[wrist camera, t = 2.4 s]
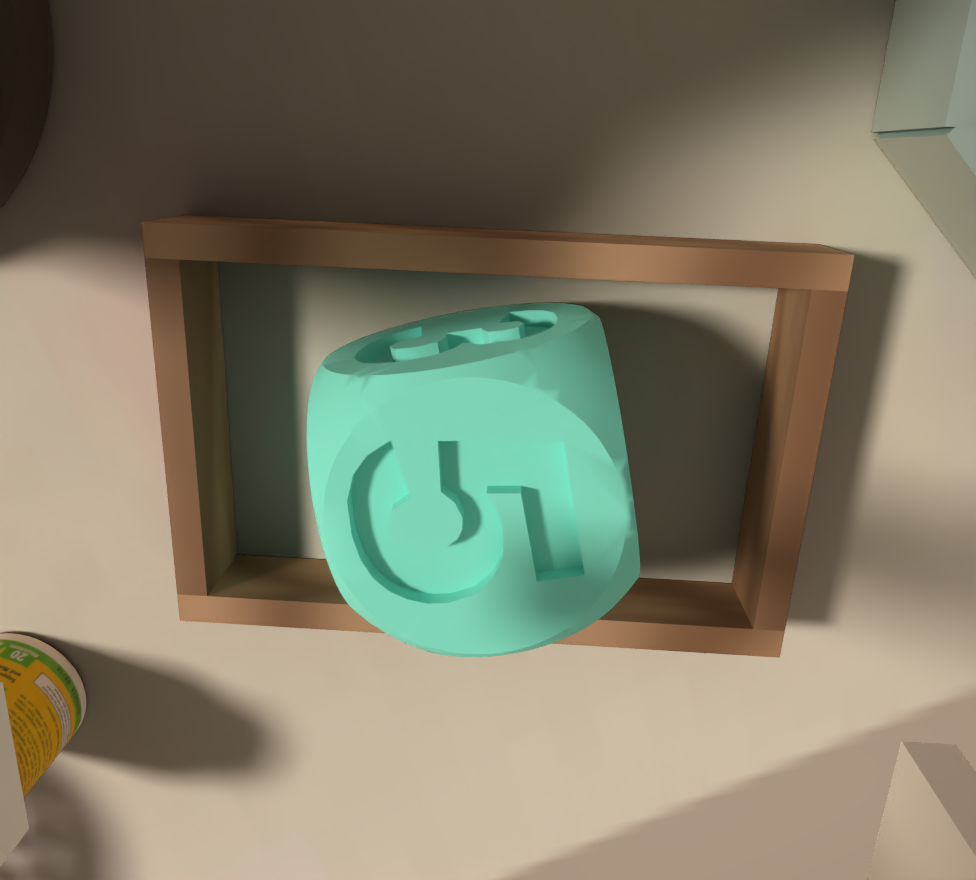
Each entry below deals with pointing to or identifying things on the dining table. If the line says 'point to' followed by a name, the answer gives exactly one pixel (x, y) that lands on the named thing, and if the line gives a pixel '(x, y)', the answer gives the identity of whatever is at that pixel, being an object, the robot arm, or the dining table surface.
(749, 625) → the rectangular frame
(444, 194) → the dining table surface
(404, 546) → the decorative dice
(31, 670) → the supplement bottle
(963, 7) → the bowl
